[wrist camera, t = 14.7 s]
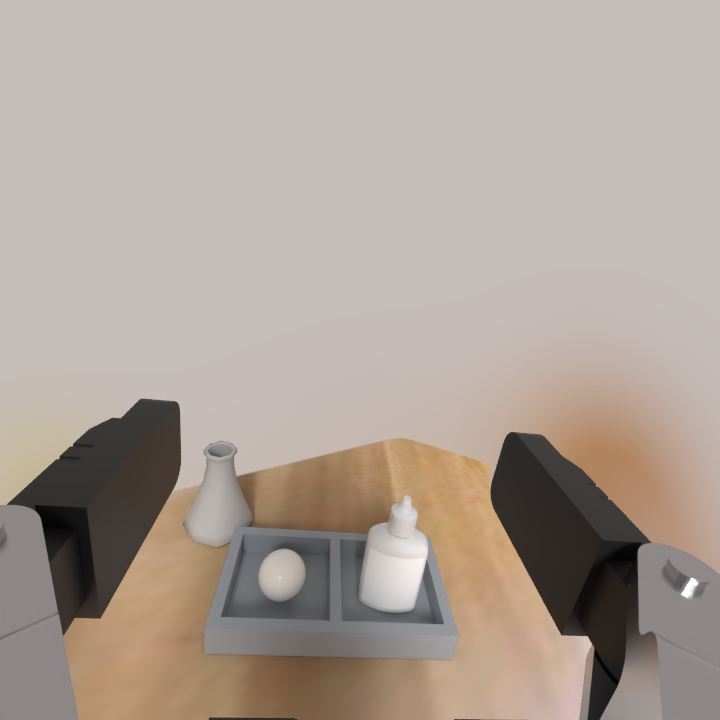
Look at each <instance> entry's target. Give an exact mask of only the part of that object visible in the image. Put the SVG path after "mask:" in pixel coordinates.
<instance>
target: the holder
mask: <svg viewBox="0 0 720 720" xmlns="http://www.w3.org/2000/svg"><path fill="white" fill-rule="evenodd" d="M367 538H368V534H364V533H347V532H329V531H312V530H294V529H277V528H260V527H242V526H235V529H234V533H233V536H232V539H231V543H230V546H229V549H228V552H227V556H226V559H225V562H224V566H223V569H222V572H221V576H220V579H219V582H218V586H217V589H216V592H215V595H214V599H213V602H212V605H211V609H210V612H209V615H208V619H207V622H206V625H205V628H204V654H223V655H265V656H307V657H350V658H392V659H434V660H451V659H452V656H453V653H454V650H455V647H456V643H457V640H458V637H459V635H458V632H457V628H456V625H455V622H454V618H453V615H452V611H451V608H450V605H449V601H448V598H447V595H446V591H445V588H444V584H443V581H442V578H441V574H440V571H439V567H438V564H437V561H436V557H435V554H434V550H433V547H432V544H431V540H430V537H426V538H427V541H428V555H427V560H426V564H425V568H424V572H423V576H422V580H421V584H420V588H419V592H418V596H417V600H416V604H415V607H414V608H413V609H412V610H411V611H408V612H403V613H387V612H382V611H378V610H376V609H373V608H371V607H369V606H367V605H365V604H363V603H362V602H361V601H360V600H359V597H358V589H359V581H360V575H361V570H362V564H363V559H364V553H365V548H366V543H367ZM278 549H290V550H292V551H294V552H296V553H297V554H298V555H299V556H300V557H301V558H302V560H303V562H304V565H305V569H306V577H305V582H304V584H303V587H302V588H301V590H300V592H299V593H298V594H297V595H296V596H295V597H293V598H292V599H290V600H287V601H284V602H276V601H272V600H270V599H268V598H267V597H266V596H265V595H264V594H263V593H262V591H261V589H260V587H259V582H258V573H259V569H260V566H261V564H262V562H263V560H264V559H265V558H266V557H267V556H268V555H269V554H270V553H272V552H273V551H275V550H278Z"/></svg>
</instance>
